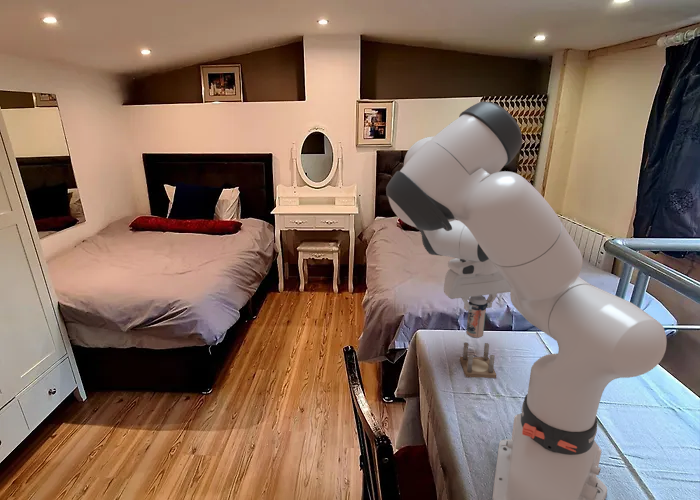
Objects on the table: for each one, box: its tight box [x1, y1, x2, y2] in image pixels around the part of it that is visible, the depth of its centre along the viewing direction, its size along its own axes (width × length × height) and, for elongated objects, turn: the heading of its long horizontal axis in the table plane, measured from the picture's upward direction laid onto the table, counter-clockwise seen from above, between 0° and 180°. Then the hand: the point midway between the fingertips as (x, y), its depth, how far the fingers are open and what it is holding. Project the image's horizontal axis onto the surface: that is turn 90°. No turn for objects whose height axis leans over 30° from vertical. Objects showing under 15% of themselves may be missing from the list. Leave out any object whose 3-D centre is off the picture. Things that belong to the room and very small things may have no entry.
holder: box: [459, 342, 498, 379], centre depth 102 cm, size 8×8×6 cm
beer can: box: [465, 295, 487, 339], centre depth 107 cm, size 5×5×12 cm
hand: (477, 308), depth 106 cm, fingers closed on beer can, 5 cm apart
